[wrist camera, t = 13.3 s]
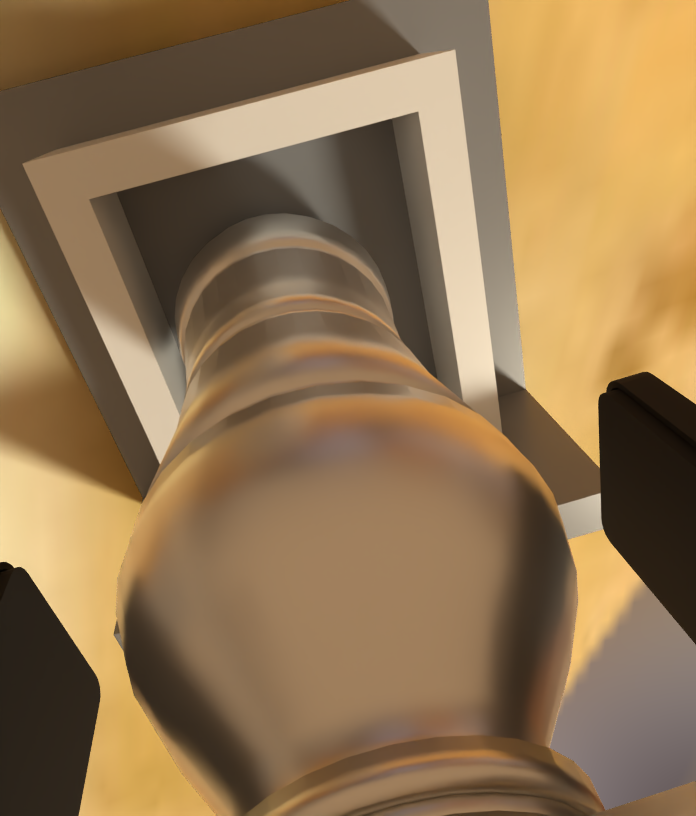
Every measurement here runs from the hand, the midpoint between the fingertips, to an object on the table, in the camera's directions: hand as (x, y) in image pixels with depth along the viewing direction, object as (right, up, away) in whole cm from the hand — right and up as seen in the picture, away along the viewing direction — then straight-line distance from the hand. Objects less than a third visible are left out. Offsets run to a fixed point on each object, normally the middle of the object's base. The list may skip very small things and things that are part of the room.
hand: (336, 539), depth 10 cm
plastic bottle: (-2, +6, +12) cm, 14 cm away
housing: (-2, +7, +13) cm, 15 cm away
